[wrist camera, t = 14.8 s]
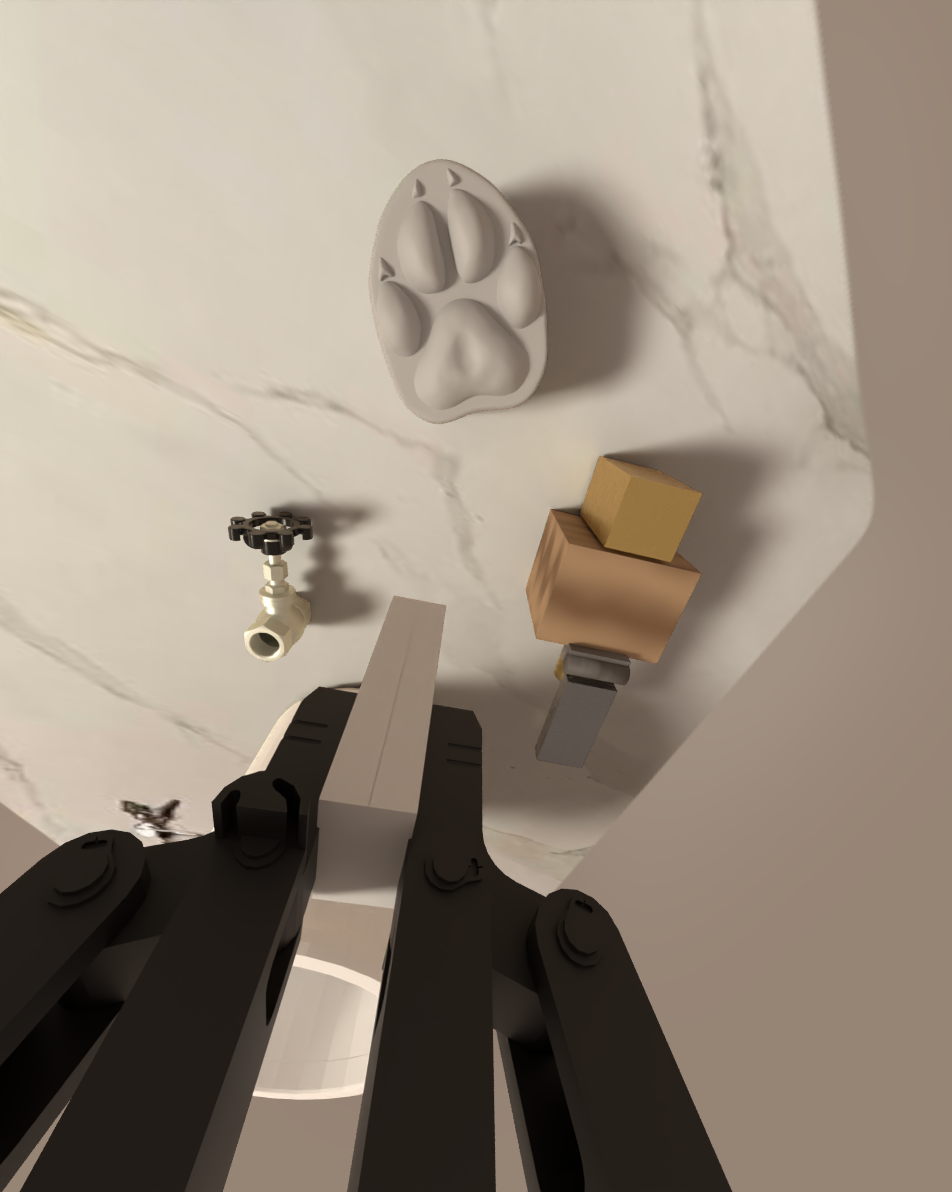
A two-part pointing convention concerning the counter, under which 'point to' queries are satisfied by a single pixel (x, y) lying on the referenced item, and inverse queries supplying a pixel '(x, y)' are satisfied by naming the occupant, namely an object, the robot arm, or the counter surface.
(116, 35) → the counter surface
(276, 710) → the counter surface
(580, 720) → the lever
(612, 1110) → the robot arm
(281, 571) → the valve
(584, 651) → the block
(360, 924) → the bucket
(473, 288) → the lumpy-topped squat cylinder
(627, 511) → the pin
